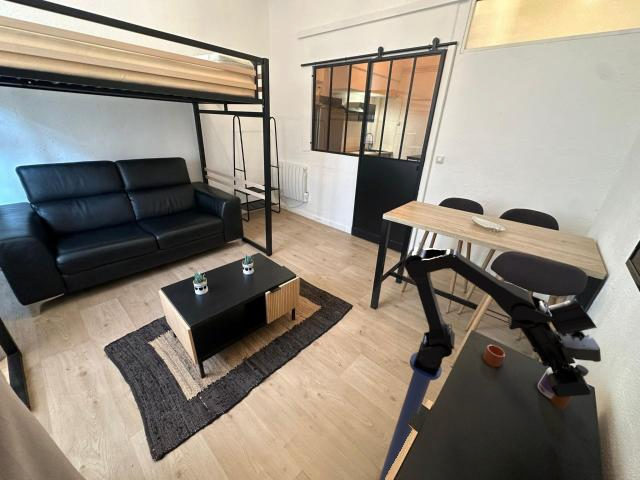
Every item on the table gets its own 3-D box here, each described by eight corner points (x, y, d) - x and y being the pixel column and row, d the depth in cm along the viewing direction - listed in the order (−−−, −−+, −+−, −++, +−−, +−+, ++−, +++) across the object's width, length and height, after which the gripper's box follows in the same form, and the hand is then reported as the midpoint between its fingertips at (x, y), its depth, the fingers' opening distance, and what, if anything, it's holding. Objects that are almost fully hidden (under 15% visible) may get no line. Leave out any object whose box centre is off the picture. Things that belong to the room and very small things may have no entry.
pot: (482, 362, 83) (487, 352, 81) (482, 352, 87) (487, 342, 85) (500, 369, 81) (505, 359, 79) (499, 358, 85) (504, 349, 83)
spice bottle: (553, 406, 64) (578, 371, 59) (548, 396, 66) (572, 361, 61) (566, 410, 63) (593, 375, 58) (561, 400, 66) (586, 365, 60)
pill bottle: (561, 404, 71) (577, 381, 67) (537, 393, 74) (552, 369, 70) (559, 391, 75) (574, 367, 71) (536, 380, 78) (550, 357, 74)
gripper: (602, 356, 49) (646, 422, 49) (568, 305, 65) (602, 355, 65) (535, 366, 56) (575, 425, 56) (519, 318, 71) (550, 363, 71)
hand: (577, 388), depth 62 cm, fingers closed on spice bottle, 3 cm apart
